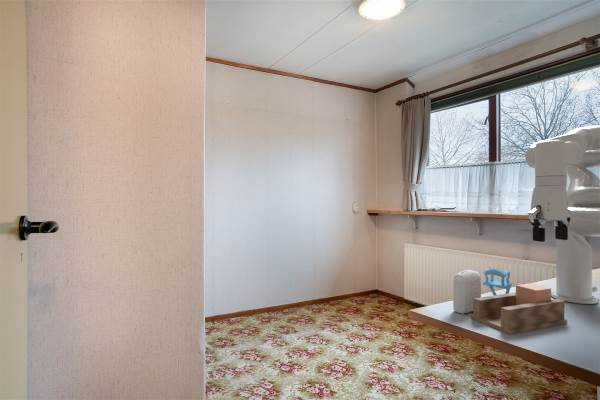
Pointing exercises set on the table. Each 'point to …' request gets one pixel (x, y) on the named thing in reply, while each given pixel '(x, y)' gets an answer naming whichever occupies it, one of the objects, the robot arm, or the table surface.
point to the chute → (517, 313)
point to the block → (531, 293)
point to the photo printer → (466, 290)
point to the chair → (495, 283)
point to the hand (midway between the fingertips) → (550, 240)
